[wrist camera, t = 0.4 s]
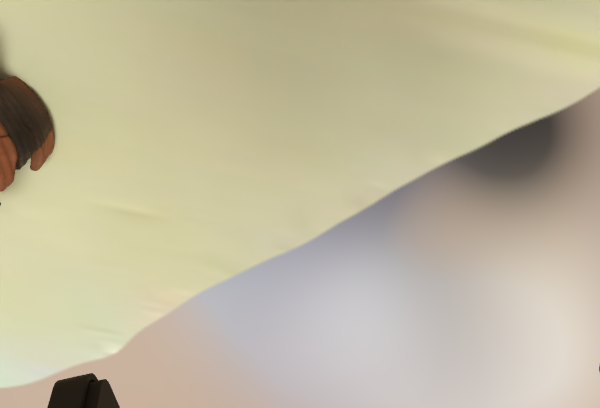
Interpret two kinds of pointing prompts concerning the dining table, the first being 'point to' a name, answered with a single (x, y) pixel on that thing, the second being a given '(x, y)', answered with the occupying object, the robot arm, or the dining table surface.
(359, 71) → the dining table surface
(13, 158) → the brown creature figurine
